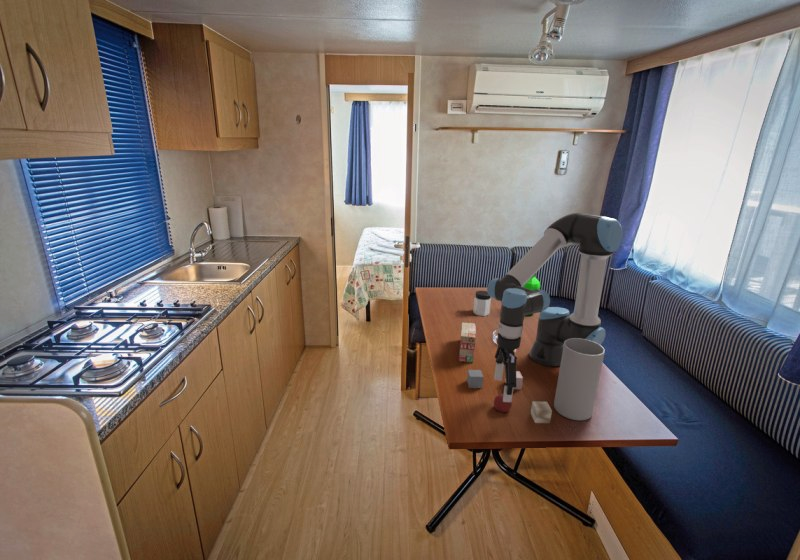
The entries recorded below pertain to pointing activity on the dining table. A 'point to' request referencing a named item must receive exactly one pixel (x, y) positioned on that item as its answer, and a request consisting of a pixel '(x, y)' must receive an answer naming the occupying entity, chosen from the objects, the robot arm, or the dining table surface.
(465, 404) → the dining table surface
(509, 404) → the fruit
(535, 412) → the birch block
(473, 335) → the stack of blocks
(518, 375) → the dusty rose block
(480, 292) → the jar
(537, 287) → the plastic bottle
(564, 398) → the cylinder vase
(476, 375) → the slate grey block
